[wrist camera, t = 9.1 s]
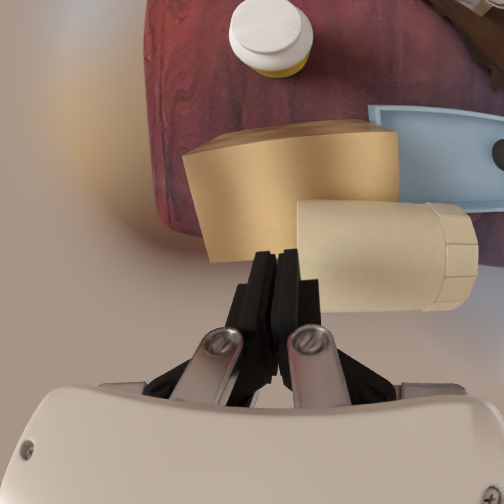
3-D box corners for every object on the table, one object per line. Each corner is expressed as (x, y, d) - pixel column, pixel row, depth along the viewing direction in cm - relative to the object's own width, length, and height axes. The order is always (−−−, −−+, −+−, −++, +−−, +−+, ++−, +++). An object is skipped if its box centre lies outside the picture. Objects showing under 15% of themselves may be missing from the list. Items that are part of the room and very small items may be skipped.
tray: (373, 208, 31) (379, 218, 28) (367, 104, 25) (374, 105, 22) (512, 202, 26) (523, 211, 23) (517, 119, 20) (530, 123, 17)
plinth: (238, 208, 33) (210, 263, 23) (222, 134, 29) (181, 156, 19) (365, 196, 30) (396, 249, 20) (360, 118, 26) (397, 131, 16)
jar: (294, 335, 16) (453, 329, 15) (296, 233, 13) (490, 238, 11) (297, 268, 22) (423, 268, 21) (296, 183, 19) (441, 190, 17)
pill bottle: (305, 83, 25) (311, 71, 15) (243, 75, 25) (212, 63, 15) (311, 28, 21) (320, -10, 12) (249, 22, 22) (222, -16, 12)
